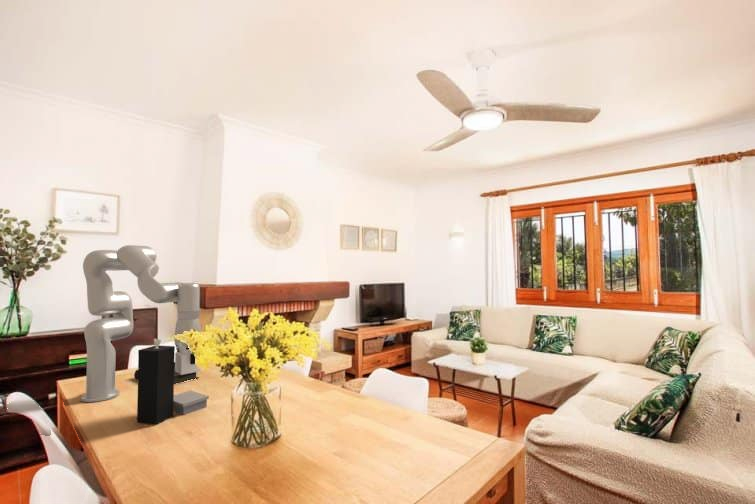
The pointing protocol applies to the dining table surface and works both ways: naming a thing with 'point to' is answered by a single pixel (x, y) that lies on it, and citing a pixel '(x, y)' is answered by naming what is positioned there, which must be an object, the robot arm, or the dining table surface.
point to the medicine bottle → (184, 361)
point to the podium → (189, 402)
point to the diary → (177, 376)
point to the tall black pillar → (155, 383)
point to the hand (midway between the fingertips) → (187, 361)
